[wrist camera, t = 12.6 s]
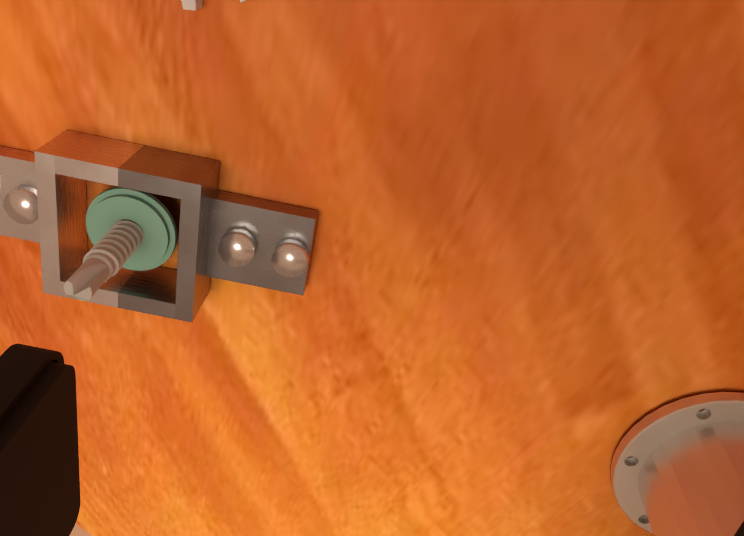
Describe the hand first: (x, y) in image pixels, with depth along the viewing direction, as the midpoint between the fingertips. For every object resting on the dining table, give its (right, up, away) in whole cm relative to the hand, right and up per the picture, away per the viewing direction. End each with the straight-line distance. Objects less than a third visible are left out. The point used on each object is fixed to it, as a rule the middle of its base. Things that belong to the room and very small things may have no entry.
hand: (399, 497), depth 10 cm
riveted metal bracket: (-14, +6, +30) cm, 34 cm away
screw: (-13, +6, +30) cm, 34 cm away
